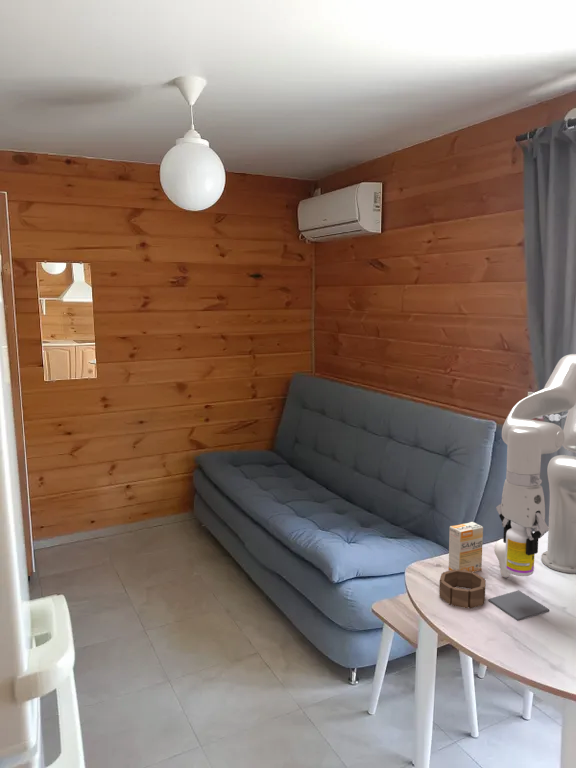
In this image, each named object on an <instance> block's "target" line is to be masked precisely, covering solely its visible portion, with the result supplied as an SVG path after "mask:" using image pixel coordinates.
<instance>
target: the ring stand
mask: <svg viewBox="0 0 576 768" xmlns="http://www.w3.org/2000/svg"><path fill="white" fill-rule="evenodd" d="M439 577H440V578H439V594H438V595H439V598H440V599H441V600H443V601H444V603H447V604H448V605H449V606H451V607H457V608H462V609H473V608H474V609H475V608H477V607H481V606H483V605H485V600H486V585H487V584H486V582H487V581H486V578H484V577H483V576H481V575H479V574H478V573H476V571H475V572H472V571H465V570H458V569H457V570H455V569H454V570H451V571H450V570H448V571H443V572H442V573H441V575H440V576H439Z"/></svg>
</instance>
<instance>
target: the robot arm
mask: <svg viewBox="0 0 576 768" xmlns="http://www.w3.org/2000/svg"><path fill="white" fill-rule="evenodd" d="M566 411H567V414H566V419H565V423H564V426H563V428H562V427H561V426H560V425H558V424H556V423H553V422H547V421H541V420H540V421H539V420H535V418H539V417H542V416H547V415H548V416H549V415H555V414H558V413H563V412H566ZM501 438H502V441H503V442H504V444H506V446H507V448H506V450H507V451H506V475H505V477H506V479H505V480H504V483H503V488H502V494H501V502H500V503H499V504H498V505H497V506H496V507H495V509H496V512H497V513H498V516H499V519H500V520H501V526H502V527H503V536H502V537H503V538H502V539H503V542H504V543H506V532H507V531H508V530H509V529H510V528H512V527H511V521H513V522H515V523H517V524H519V525H521V526H524V527H526V531H527V534H528V538H529V539H526V554H527V555H532V554H537V553H538V552H539V539H541V538H542V537H543V536H544V535H545V534H546V533H547V534H548V535H547V550H546V551H545V552H543V553H541V555H540V557H541V559H540V560H541V562H542V563H543V565H545V566H546V567H548V568H550V569H552V570H555V571H557V572H563V573H566V574H567V573H568V574H576V456H575V455H569V454H568V455H567V454H560V455H559V454H558V455H555V456H553V457H552V458H551V459H550V460H549V462H548V464H547V466H546V467H547V469H546V470H547V471H546V472H547V480H548V486H549V509H548V510H549V511H548V512H549V513H548V524H547V522H546V505H545V504H546V503H545V494H544V489H543V486H542V482H543V480H542V479H541V464H542V462H541V460H542V455H548V454H549V455H550V454H554V453H556V452H558V451H559V450H560V449H561V448H562V447H563V448H564V450H567V451H568V452H572V453H575V454H576V353H571V354H567V355H564V356H563V357H561V358H560V359H559V360H558V361H557V363H556V365H555V367H554V369H553V371H552V373H551V374H550V376H549V378H548V380H547V382H546V383H545V385H544V387H543V388H542V389H540V390H537V391H535V392H534V393H531V394H529V395H528V396H526V397H524V398H522V399H521V400H519V401H518V402H517V403H516V404H515V405H513V407H512V408H511V410H510V411H509V413H508V415H507V417H506V419H505V420H504V423H503V425H502V429H501ZM532 529H533V530H532ZM532 532H533V533H532Z"/></svg>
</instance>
